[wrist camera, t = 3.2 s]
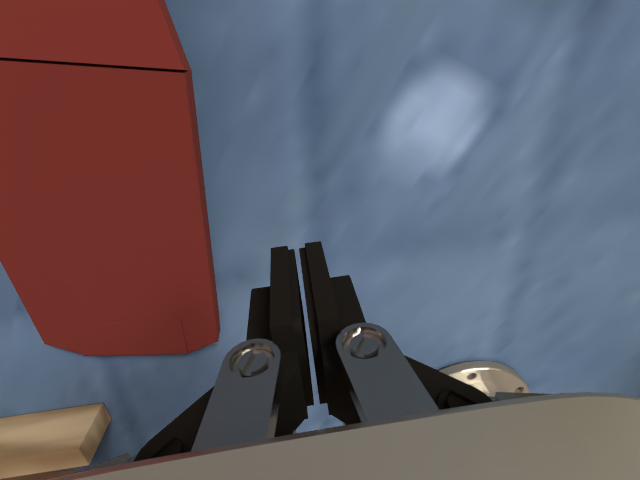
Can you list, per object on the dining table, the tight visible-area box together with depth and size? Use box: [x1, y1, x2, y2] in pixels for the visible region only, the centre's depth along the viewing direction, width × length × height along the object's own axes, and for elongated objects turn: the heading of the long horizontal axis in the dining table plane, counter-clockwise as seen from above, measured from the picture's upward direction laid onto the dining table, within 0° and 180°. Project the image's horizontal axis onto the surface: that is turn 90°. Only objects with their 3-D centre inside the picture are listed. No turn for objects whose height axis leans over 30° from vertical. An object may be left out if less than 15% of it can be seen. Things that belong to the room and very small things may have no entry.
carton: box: [0, 0, 220, 356], centre depth 22 cm, size 12×5×25 cm
